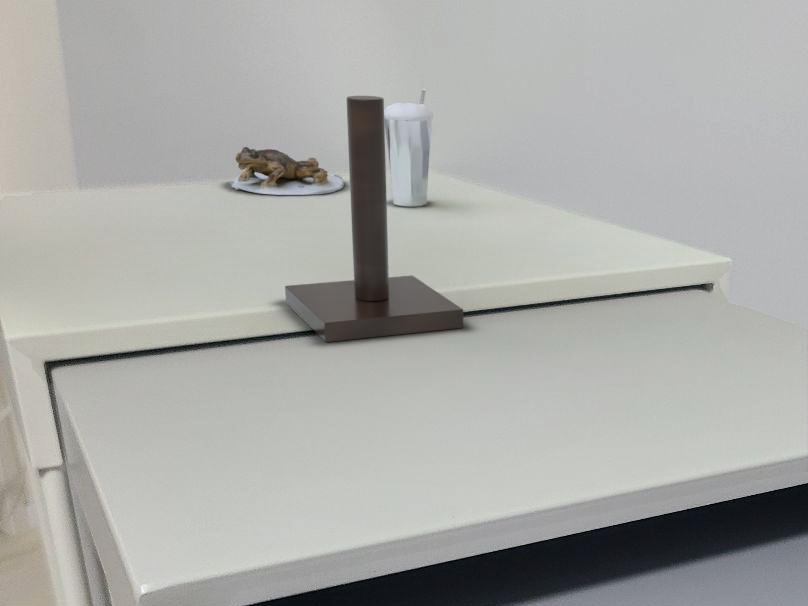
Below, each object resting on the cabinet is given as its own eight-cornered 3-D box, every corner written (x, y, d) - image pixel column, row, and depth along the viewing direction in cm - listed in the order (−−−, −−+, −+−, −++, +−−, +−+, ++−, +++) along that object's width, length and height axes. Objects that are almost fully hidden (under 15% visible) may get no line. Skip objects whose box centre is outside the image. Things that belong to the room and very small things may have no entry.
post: (325, 342, 64) (312, 107, 58) (285, 303, 71) (270, 89, 65) (463, 327, 68) (464, 105, 62) (412, 292, 75) (409, 89, 69)
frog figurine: (267, 200, 102) (263, 158, 100) (207, 180, 110) (203, 141, 108) (367, 189, 109) (366, 150, 107) (304, 172, 117) (302, 134, 115)
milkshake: (446, 201, 105) (445, 91, 100) (418, 210, 101) (416, 95, 96) (406, 196, 107) (404, 87, 102) (376, 204, 102) (373, 91, 98)
